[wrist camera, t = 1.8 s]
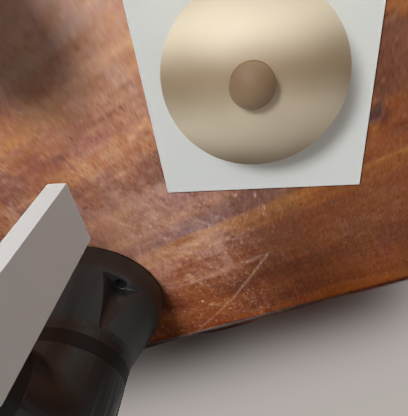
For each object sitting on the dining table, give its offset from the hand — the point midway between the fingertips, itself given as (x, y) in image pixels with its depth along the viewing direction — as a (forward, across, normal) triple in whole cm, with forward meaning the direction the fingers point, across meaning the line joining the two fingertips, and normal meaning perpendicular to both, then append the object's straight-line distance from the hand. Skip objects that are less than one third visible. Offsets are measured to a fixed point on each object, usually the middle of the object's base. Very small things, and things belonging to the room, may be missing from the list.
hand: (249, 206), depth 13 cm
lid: (+16, 0, 0) cm, 16 cm away
